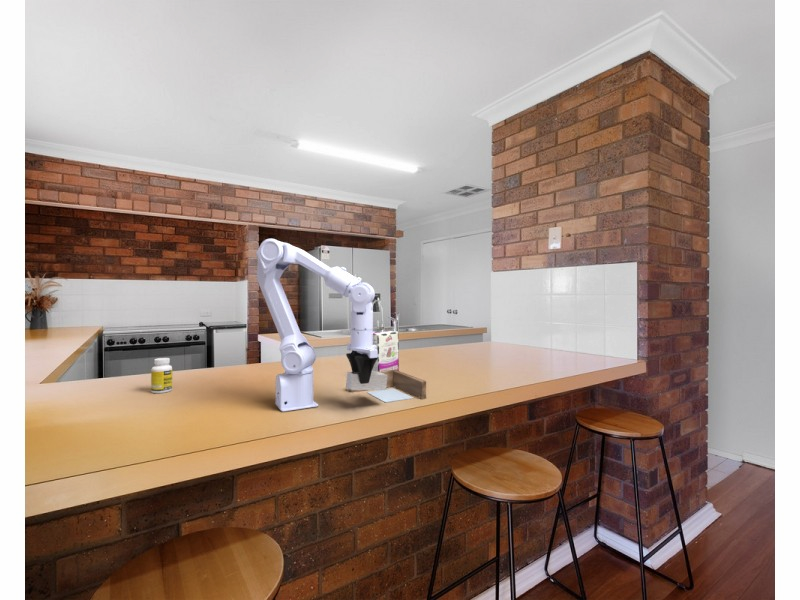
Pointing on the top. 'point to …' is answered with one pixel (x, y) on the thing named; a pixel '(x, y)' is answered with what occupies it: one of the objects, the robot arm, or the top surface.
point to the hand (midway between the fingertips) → (361, 381)
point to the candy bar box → (386, 351)
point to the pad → (389, 395)
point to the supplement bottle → (161, 376)
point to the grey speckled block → (375, 383)
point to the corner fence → (404, 383)
